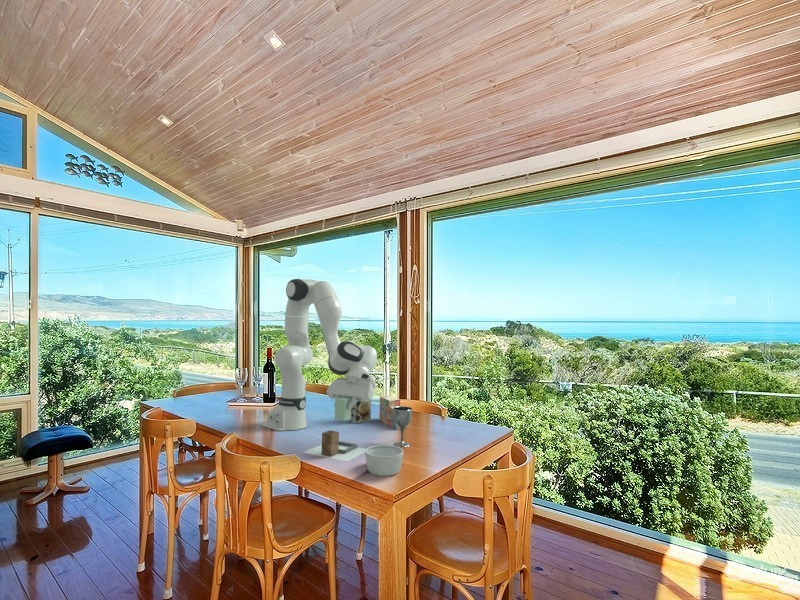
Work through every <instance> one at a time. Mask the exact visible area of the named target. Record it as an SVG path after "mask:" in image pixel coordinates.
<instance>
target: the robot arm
mask: <svg viewBox="0 0 800 600" xmlns="http://www.w3.org/2000/svg"><path fill="white" fill-rule="evenodd" d="M285 294H286V297H287V302H286V307H285V313H284V314H285V315H284V316H285V317H284V334H285V336H286V337H287V342H288V345H285V346H282V347H281V348H279V349H277V351H276V352H275V354H274V363H275V365H276V366H277V367H278V370H279V373H280V377H281V395H280V397H278V398H276V401H278V402H277V403H278V404H277V405H276V406H274V407H273V408H272V409H271V410H269V411H268V412H267V415H266V419H265V421H263V422H261V423H260V426H262V427H263V428H264V427H265V428H268V429H270V430H275V431H278V432H280V431H296V430H297V431H298V430H302V429H304V428H307V427H308V421H307V416H306V403H307V399H306V398H307V397H306V379H305V377H304V375H303V370H302V367H305V366H306V365H308V364H309V363H311V361H312V360H313V357H314V352H313V349H312V348H311V345H310V339H309V314H310V313H309V312H310V311H309V310H310V306H311V305H312V304H313V305H314V308H315V312H316V313H317V316H318V317H317V318H318V320H319V323H320V326H321V327H320V328H321V331H322V336H323V339H324V342H325V343H324V344H325V346H326V350H327V354H328V355H327V356H328V360H327V361H328V362H327V365H328V368H329V370H330V372H331V373H333V374H335V375H337V376H344V375H345V377H338V378H335V379H334V380H333V381H332V382H331V384H330V385H329V387H327V389H326V394H327V396H328V397H329V398H330V399H334V400H335V399H337V398H340V397H346V398H351V400H352V401H351V402H350V403H348V404H347V406H346V407H347V409H351V408H352V406H354V405H355V404H356V403H357V402H358V401H362V402H369V401H371V402H372V399H373V397H374V394H375V389H376V388H377V384H376V382H375V380H374V377H372V375H370V374H371V373H372V371H373V370H374V368H375V366H376V363H377V359H378V352H377V350H376V349H375V348H374V347H372V346H371V345H368V344H364V345H360V344H356V343H354V342H352V341H349V340H344V341H341V340H340V338H339V332H338V330H339V324H340V322H341V321H340V320H341V317H342V313H343V312H342V306H341V302H340V300H339V297H338V295H337V293H336V291H335V289H334V288H333V286H332V284H330V282H328V281H325V280H324V281H323V280H320V281H319V280H316V279H303V278H301V279H300V278H293V279H291V280H288V282H287V284H286V287H285ZM340 341H341V342H340ZM333 406H334V408H335V402H334V404H333Z"/></svg>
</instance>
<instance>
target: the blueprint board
mask: <svg viewBox="0 0 800 600" xmlns="http://www.w3.org/2000/svg"><path fill="white" fill-rule="evenodd" d="M366 449H367V448H365V447H364V448H363V447H360V446H358V444H357V443H352V442H347V441H342V440H341V441H340V440H339V450H338V454H336V455H334V456H332V457H329V456H325V455H321V451H322V444H320V445H317V446H315V447H313V448H312V447H311V448H310V449H307V450H305V451H302V453H305V454H308V455H313V456H318V457H323V458H328V459H332V460H337V461H341V462H342V461H343V462H349V461H351V460H353V459H355V458H357V457H359V456H361V455H362V454H365V450H366Z"/></svg>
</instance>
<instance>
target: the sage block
mask: <svg viewBox="0 0 800 600" xmlns="http://www.w3.org/2000/svg"><path fill="white" fill-rule="evenodd" d="M350 402H351V398H346V397H340V398H337V399H335V398H334V403H335V407H334V420H335V421H341V422H342V421H343V422H345V421H348V420H350V419H351V409H347V407H346V406H347V404H348V403H350Z"/></svg>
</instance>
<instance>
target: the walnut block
mask: <svg viewBox="0 0 800 600" xmlns="http://www.w3.org/2000/svg"><path fill="white" fill-rule="evenodd" d="M339 441H340V432H339V431H335V430H330V429H329V430H326V431H324V432H322V433H321V445H322V451H321V455H325V456H329V457H332V456H334V455H336V454H338V450H339Z"/></svg>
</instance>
